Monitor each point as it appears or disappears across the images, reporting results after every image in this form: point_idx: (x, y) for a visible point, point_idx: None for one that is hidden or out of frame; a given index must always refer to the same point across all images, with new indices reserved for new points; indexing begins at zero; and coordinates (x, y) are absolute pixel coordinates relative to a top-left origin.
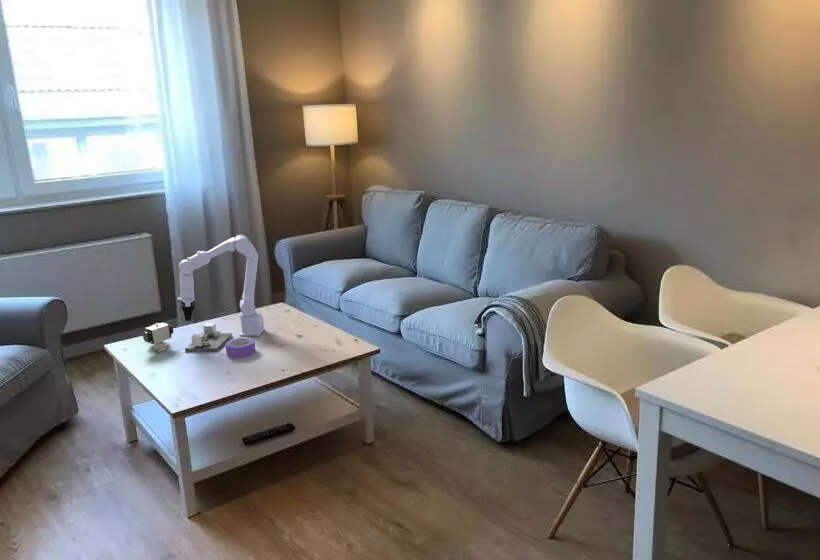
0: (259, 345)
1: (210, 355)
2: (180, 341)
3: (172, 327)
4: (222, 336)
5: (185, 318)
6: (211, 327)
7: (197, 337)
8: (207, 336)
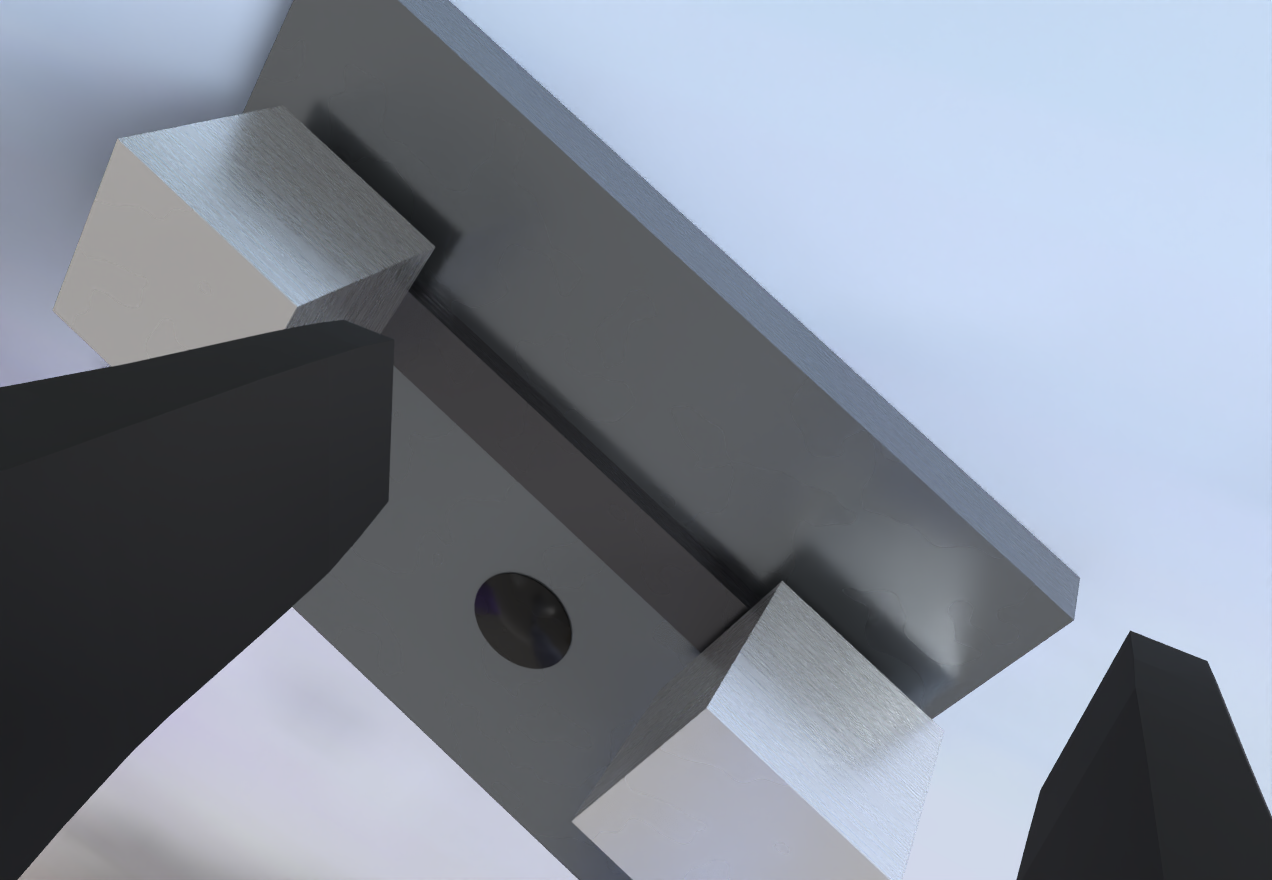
0: (141, 841)
1: (45, 255)
2: (1186, 32)
3: None
4: (568, 757)
5: (248, 351)
6: (598, 791)
7: (76, 258)
8: (676, 581)
